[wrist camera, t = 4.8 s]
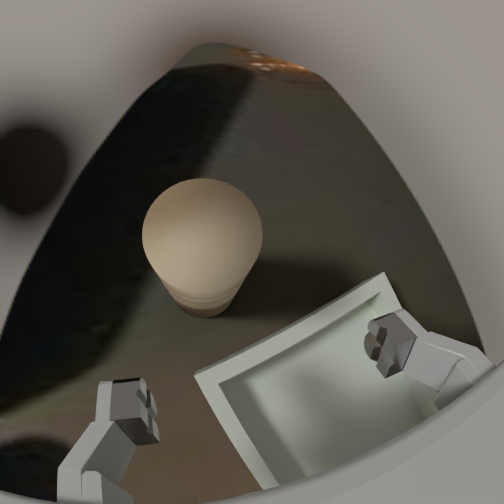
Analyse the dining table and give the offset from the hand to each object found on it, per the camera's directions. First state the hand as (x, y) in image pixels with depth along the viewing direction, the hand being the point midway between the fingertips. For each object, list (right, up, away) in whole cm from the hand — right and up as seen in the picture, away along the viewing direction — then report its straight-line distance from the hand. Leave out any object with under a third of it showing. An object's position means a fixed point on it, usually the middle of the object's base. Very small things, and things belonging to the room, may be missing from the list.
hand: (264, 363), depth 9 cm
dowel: (-4, +1, +11) cm, 11 cm away
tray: (+5, -7, +9) cm, 13 cm away
